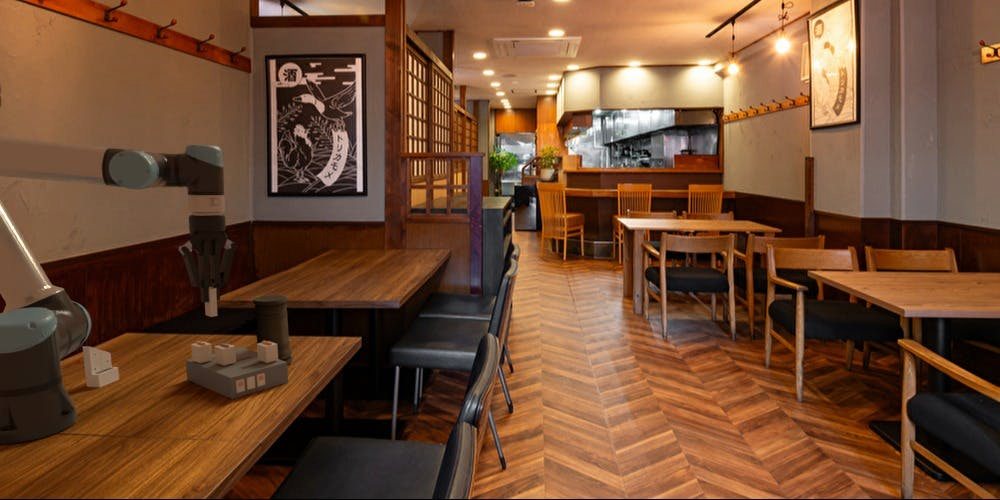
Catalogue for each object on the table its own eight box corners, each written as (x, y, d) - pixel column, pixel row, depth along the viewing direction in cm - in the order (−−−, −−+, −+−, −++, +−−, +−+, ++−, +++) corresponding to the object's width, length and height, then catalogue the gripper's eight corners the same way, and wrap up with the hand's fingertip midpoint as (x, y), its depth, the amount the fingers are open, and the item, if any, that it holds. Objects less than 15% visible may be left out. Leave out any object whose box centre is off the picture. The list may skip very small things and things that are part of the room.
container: (297, 359, 164) (294, 294, 162) (283, 369, 156) (278, 301, 153) (266, 358, 165) (262, 293, 163) (249, 369, 156) (245, 301, 154)
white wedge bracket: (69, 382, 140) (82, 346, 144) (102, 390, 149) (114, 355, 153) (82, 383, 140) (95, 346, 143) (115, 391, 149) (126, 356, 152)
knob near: (266, 363, 144) (265, 344, 143) (257, 359, 146) (256, 341, 146) (278, 359, 146) (277, 341, 146) (269, 356, 149) (268, 339, 148)
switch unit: (233, 399, 135) (231, 378, 134) (187, 379, 149) (185, 359, 148) (289, 382, 146) (288, 362, 145) (241, 365, 160) (240, 346, 159)
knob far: (200, 363, 144) (198, 344, 144) (192, 360, 147) (190, 342, 146) (212, 360, 147) (211, 342, 146) (204, 357, 149) (203, 339, 149)
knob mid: (223, 365, 142) (222, 347, 142) (215, 362, 145) (214, 344, 144) (236, 362, 145) (234, 344, 144) (227, 359, 147) (226, 341, 147)
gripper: (184, 215, 130) (189, 323, 133) (242, 213, 140) (246, 313, 143) (169, 214, 135) (175, 317, 137) (227, 212, 145) (230, 308, 147)
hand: (211, 315), depth 140 cm, fingers closed
